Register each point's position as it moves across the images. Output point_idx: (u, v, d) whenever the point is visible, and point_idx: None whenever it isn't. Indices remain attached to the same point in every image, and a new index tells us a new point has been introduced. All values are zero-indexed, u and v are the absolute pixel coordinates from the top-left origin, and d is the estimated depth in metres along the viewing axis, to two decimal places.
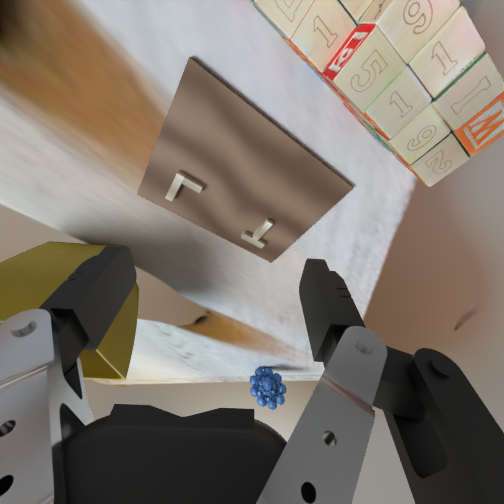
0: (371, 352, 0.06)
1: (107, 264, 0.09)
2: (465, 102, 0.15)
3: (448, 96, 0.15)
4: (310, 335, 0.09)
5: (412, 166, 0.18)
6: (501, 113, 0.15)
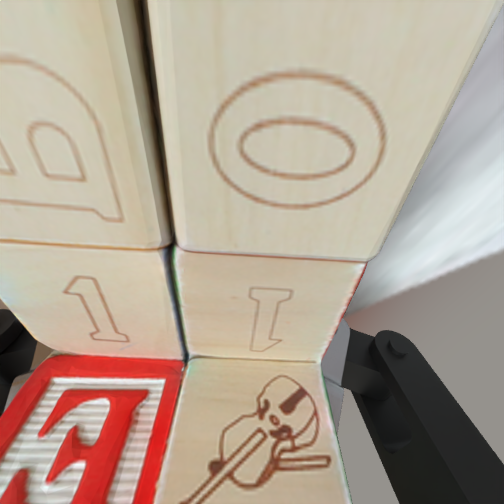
0: None
1: None
2: None
3: None
4: None
5: None
6: None
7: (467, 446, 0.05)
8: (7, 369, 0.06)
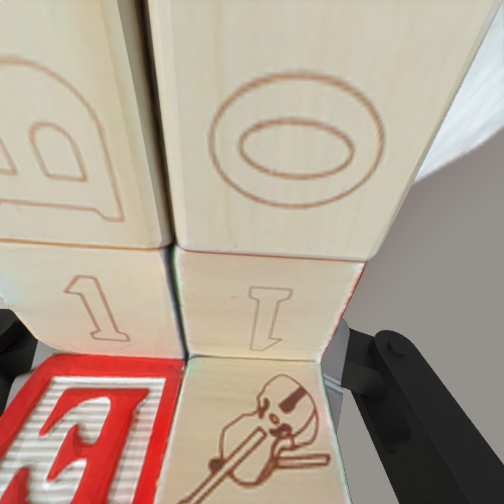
0: (334, 333, 0.07)
1: None
2: None
3: None
4: None
5: None
6: None
7: (467, 446, 0.05)
8: (8, 369, 0.06)
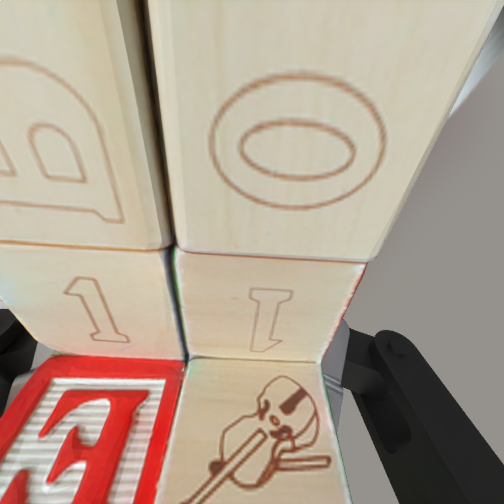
0: None
1: None
2: None
3: None
4: None
5: None
6: None
7: (467, 446, 0.05)
8: (8, 369, 0.06)
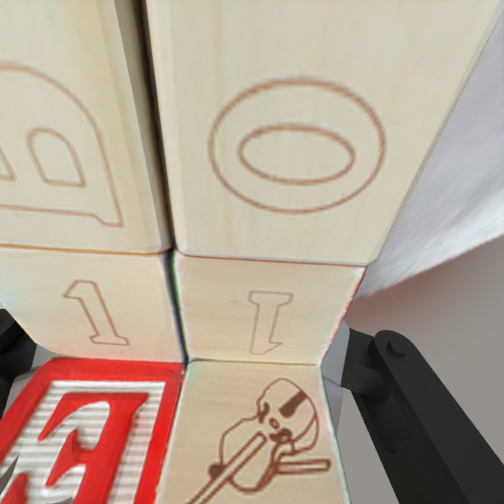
0: None
1: None
2: None
3: None
4: None
5: None
6: None
7: (467, 445, 0.05)
8: (8, 369, 0.06)
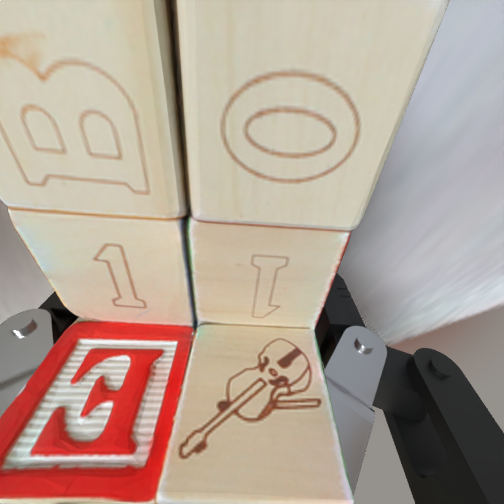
0: (371, 352, 0.06)
1: None
2: None
3: None
4: None
5: None
6: None
7: None
8: None
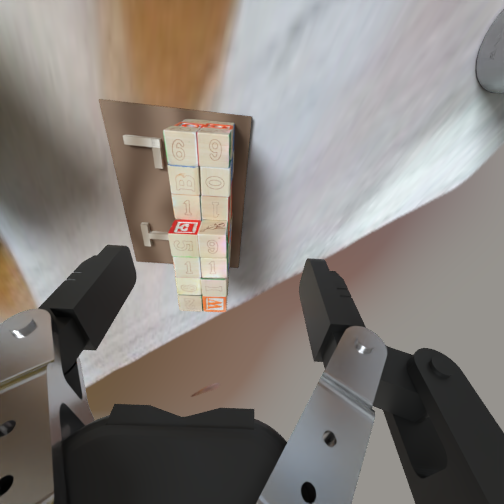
0: (371, 352, 0.06)
1: (107, 264, 0.09)
2: (211, 289, 0.28)
3: (206, 281, 0.28)
4: (310, 335, 0.09)
5: (178, 295, 0.29)
6: (221, 303, 0.30)
7: None
8: None
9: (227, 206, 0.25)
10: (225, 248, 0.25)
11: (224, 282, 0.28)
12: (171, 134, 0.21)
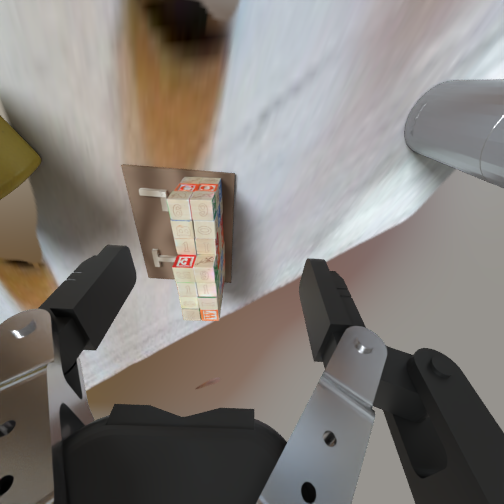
0: (371, 352, 0.06)
1: (107, 264, 0.09)
2: (206, 304, 0.38)
3: (202, 299, 0.37)
4: (310, 335, 0.09)
5: (182, 309, 0.39)
6: (215, 314, 0.40)
7: None
8: None
9: (215, 245, 0.35)
10: (214, 276, 0.34)
11: (215, 299, 0.37)
12: (172, 201, 0.31)
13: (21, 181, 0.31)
